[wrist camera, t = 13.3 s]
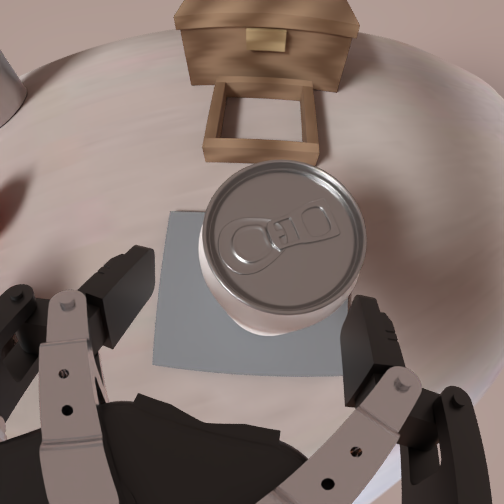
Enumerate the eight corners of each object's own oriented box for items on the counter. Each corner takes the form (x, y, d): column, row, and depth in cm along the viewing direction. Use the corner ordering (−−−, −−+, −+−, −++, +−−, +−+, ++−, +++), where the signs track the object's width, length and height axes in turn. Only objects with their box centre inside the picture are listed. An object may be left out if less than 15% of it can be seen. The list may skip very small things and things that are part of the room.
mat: (155, 364, 20) (152, 364, 19) (171, 214, 24) (170, 211, 23) (343, 374, 20) (345, 375, 19) (343, 223, 23) (345, 220, 23)
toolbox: (168, 162, 25) (124, 51, 13) (205, 37, 32) (195, -39, 20) (352, 171, 25) (405, 65, 13) (327, 43, 31) (342, -33, 19)
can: (211, 265, 22) (169, 180, 10) (293, 236, 22) (329, 134, 11) (240, 349, 20) (225, 358, 8) (325, 316, 21) (406, 284, 9)
